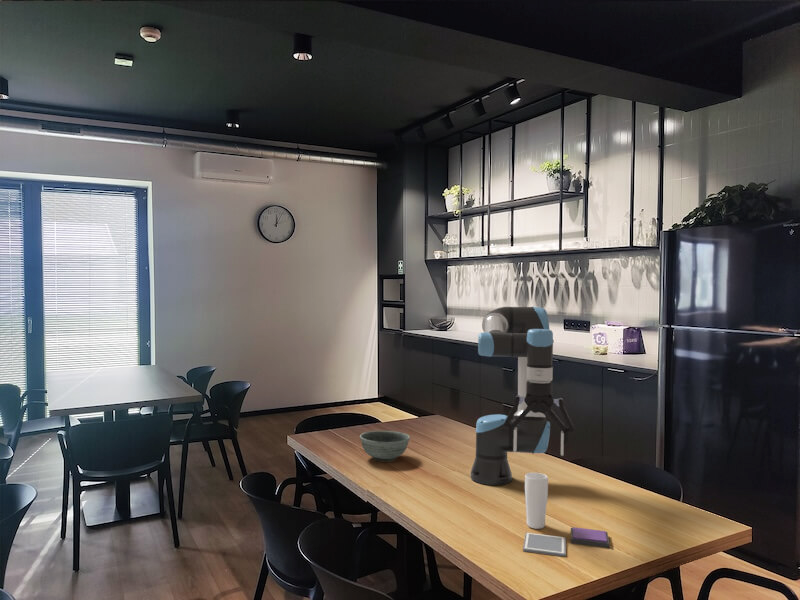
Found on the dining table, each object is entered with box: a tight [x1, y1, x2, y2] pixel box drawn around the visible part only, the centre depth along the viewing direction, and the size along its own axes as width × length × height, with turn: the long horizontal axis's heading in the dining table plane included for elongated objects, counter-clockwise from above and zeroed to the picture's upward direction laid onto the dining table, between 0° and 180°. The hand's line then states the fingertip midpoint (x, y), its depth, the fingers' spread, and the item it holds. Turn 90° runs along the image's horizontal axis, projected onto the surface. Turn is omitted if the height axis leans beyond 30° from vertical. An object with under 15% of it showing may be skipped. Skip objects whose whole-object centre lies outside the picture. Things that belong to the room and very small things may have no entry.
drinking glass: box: [524, 472, 549, 530], centre depth 170 cm, size 7×7×15 cm
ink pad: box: [570, 527, 610, 549], centre depth 161 cm, size 10×8×2 cm
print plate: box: [522, 532, 567, 558], centre depth 157 cm, size 11×11×1 cm
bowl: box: [359, 430, 411, 463], centre depth 236 cm, size 21×21×10 cm
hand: (538, 452), depth 170 cm, fingers open, 13 cm apart
